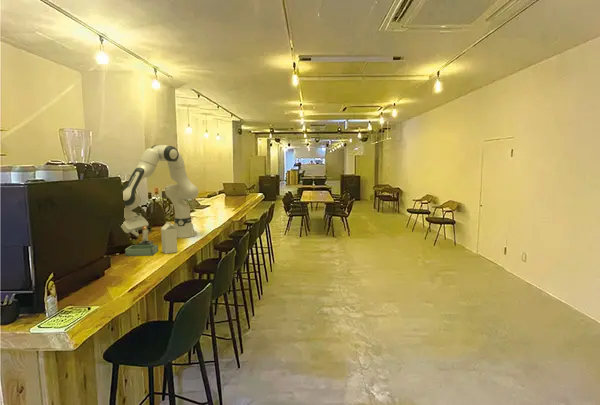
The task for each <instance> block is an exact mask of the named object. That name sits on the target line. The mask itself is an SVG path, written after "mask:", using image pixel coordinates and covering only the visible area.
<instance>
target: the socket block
mask: <svg viewBox="0 0 600 405" xmlns="http://www.w3.org/2000/svg"><path fill="white" fill-rule="evenodd" d="M137 245H154V241H153V240H148V243H143V240H141V241H139V242H138V243H137Z"/></svg>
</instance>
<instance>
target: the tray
mask: <svg viewBox="0 0 600 405" xmlns="http://www.w3.org/2000/svg"><path fill="white" fill-rule="evenodd" d="M158 252H159V244H153V245H138V244H131V245H130V246H128V247H127V248H125V249H124V253H125V254H124V255H125V257H139V256H140V257H143V256H144V257H146V256H148V257H149V256H154V255H155V254H157V253H158Z"/></svg>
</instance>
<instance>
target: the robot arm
mask: <svg viewBox="0 0 600 405" xmlns="http://www.w3.org/2000/svg"><path fill="white" fill-rule="evenodd" d="M160 161H161V162H167V166H168V170H169V175H170V179H171V180H172V181H174V182H175V183H174V184H168V185H166V187H165V189H164V194H165V195H166V197H167V199H169V200H170V202H171V203H172V205H173V209H174V220H173V221H174V223H173V225H174V226H173V227H175V228H176V231H177V239H178V238H179V239H181V238H182V239H183V238H185V239H186V238H191V237H196V236H197V230H195V229H194V225H193V223H192V216H191V207H190V205H188V204H187V203H186V202H185V200H193V199H194V200H195V199H196V198H198V196H199V193H200V192H199V188H198V187H197V186H196V185H195V184H194V183H193V182H192V181H191V180H190V179H189V177H188V175H187V174H188V173H187V171H186V166H185V161H184V158H183V155H182V153H180V152H179V150H178V149H177V148H176V147H175V146H172V145H168V144H155V145H153V146H151V147H149V148H146V149H145V151H144V152H143V153H142V155H141V156H140V159H139V161H138V163H137V164H136V167H135V168H134V170H133V171H132V174H131V176H130V177H129V179H128V181H127V183H126V184H125V186H124V188H123V189H122V190H123V200H124V205H125V208H124V218H125V221H124V222H123V224H122V225H121V226H120V228H121V229H122V231H123V232H124V233H126V234H129V233H131V234H133V235H134V236H135V237H139V236H140V233H139V232H137V231H139V230H140V231H141V230H142V227H143V226H147V227H148V226H149V222H148V221H147V219H146V218H145V217H144V216H142V213H139V212H135V211H133V210H135V209H137V208H138V207H139V206H140V205H141V203H142V199H141V196H140V195H138V194H137V193H136V191H137V189H138V187H139V185H140V183H141V181H142V180H144V179H145V178H150V177H151V176H152V175H153V174H154V173H155V170H156V168H157V165H158V163H159V162H160ZM147 231H148V233H149V232H150V230H149V229H147Z"/></svg>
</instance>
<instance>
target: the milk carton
mask: <svg viewBox="0 0 600 405" xmlns="http://www.w3.org/2000/svg"><path fill="white" fill-rule="evenodd" d="M173 226H174V223H171V222H170V221H165V223H164V225H163V226H161V228H160V232H161V251H162V253H163V254H166V255H167V254H172V253H173V254H174V253H178V238H177V231H176V228H175V227H173Z"/></svg>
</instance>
